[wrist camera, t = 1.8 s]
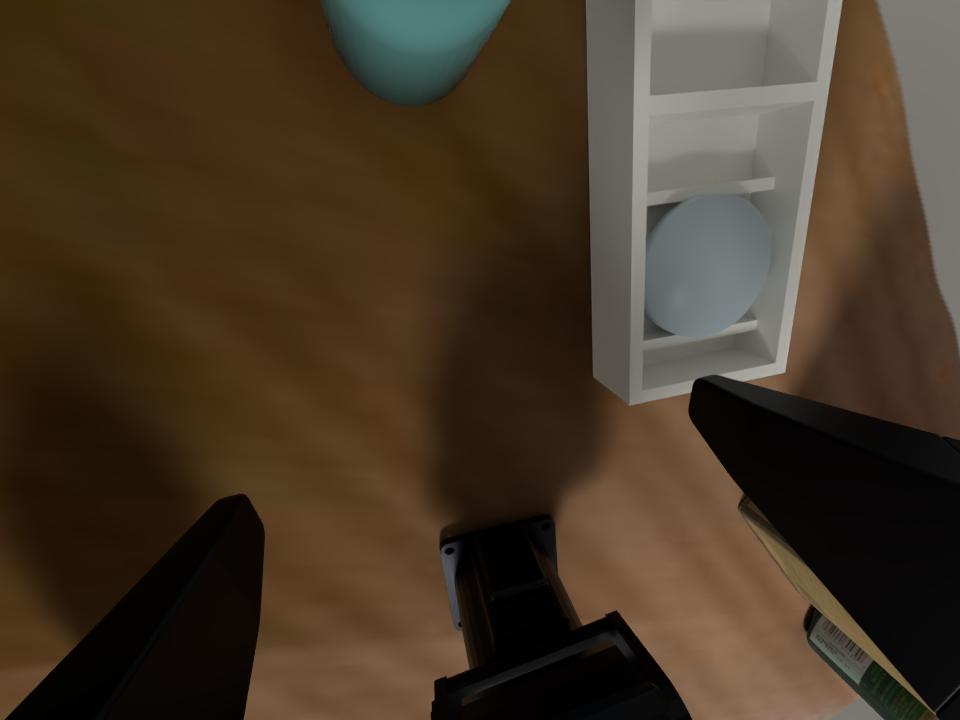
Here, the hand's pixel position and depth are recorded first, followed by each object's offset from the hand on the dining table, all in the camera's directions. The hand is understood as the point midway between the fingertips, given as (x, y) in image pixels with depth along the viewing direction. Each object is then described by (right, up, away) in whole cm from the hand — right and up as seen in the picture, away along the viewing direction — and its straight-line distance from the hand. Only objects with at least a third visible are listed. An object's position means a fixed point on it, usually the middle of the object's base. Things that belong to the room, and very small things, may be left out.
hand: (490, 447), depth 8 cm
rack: (+8, +10, +11) cm, 17 cm away
